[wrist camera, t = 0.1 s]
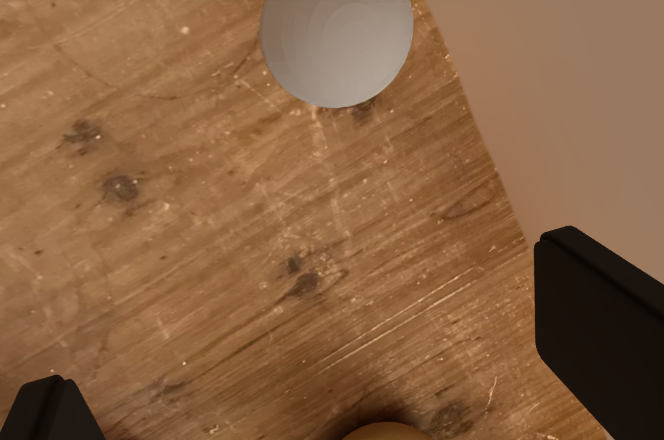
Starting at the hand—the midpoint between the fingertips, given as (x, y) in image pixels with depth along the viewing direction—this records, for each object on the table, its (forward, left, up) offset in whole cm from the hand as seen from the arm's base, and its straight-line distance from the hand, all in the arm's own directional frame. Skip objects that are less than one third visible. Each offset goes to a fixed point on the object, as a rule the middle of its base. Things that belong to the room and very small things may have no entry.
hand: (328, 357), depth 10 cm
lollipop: (-4, +4, -26) cm, 26 cm away
